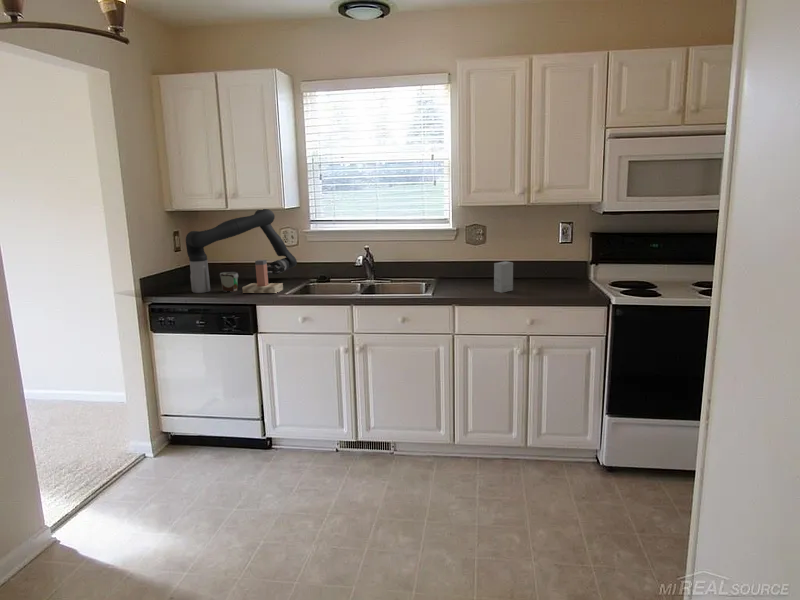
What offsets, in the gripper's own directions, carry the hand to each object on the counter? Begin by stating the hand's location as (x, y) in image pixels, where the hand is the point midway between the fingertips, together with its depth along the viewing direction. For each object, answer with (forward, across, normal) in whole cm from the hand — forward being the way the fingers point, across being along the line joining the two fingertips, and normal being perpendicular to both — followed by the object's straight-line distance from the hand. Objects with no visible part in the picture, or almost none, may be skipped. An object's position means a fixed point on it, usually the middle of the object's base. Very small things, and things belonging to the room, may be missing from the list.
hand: (267, 271), depth 310 cm
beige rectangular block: (+8, 0, +10) cm, 13 cm away
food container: (+5, -19, +10) cm, 22 cm away
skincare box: (+5, +128, +10) cm, 129 cm away
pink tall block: (+8, 0, +10) cm, 13 cm away
